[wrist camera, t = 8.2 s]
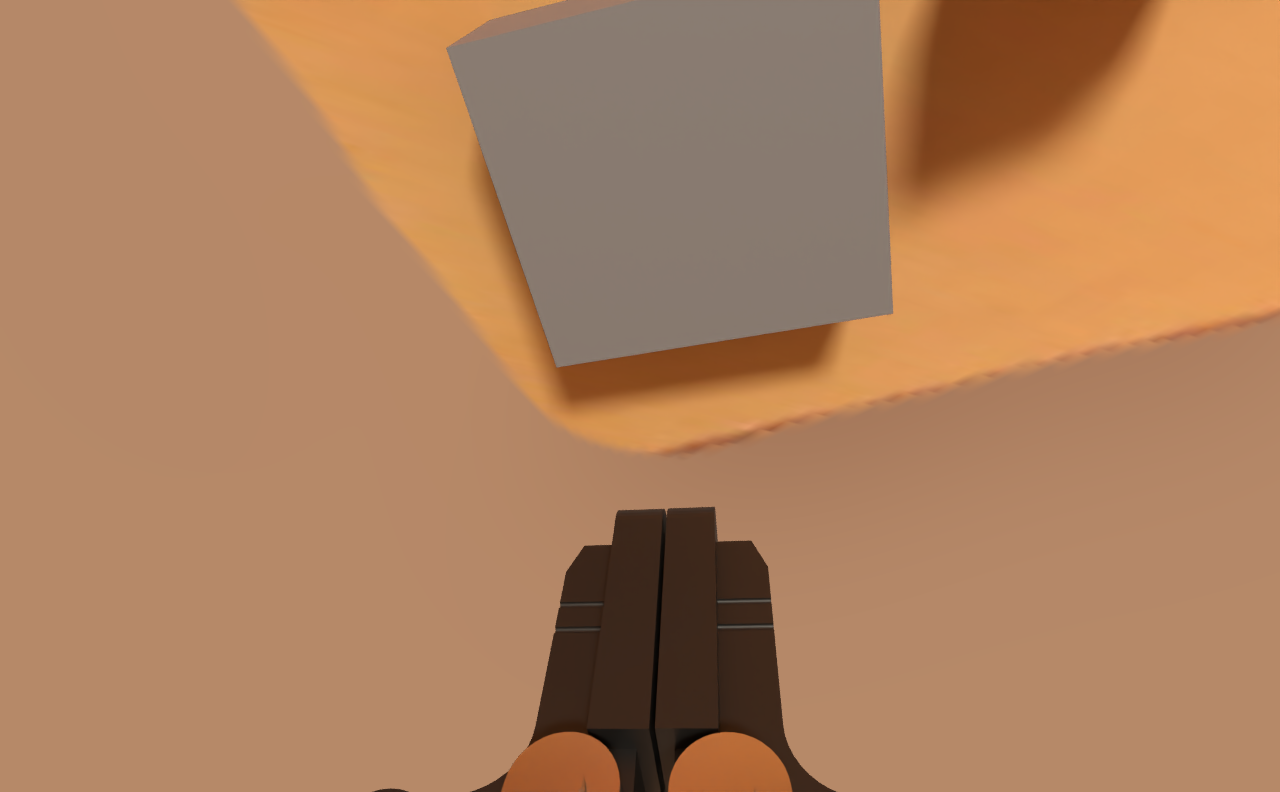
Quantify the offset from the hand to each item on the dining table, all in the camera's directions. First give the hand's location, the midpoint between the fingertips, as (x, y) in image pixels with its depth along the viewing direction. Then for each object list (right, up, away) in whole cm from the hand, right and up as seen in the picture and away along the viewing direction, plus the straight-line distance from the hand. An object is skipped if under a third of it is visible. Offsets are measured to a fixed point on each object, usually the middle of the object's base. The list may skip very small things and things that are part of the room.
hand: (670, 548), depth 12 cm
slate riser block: (+2, +13, +18) cm, 22 cm away
